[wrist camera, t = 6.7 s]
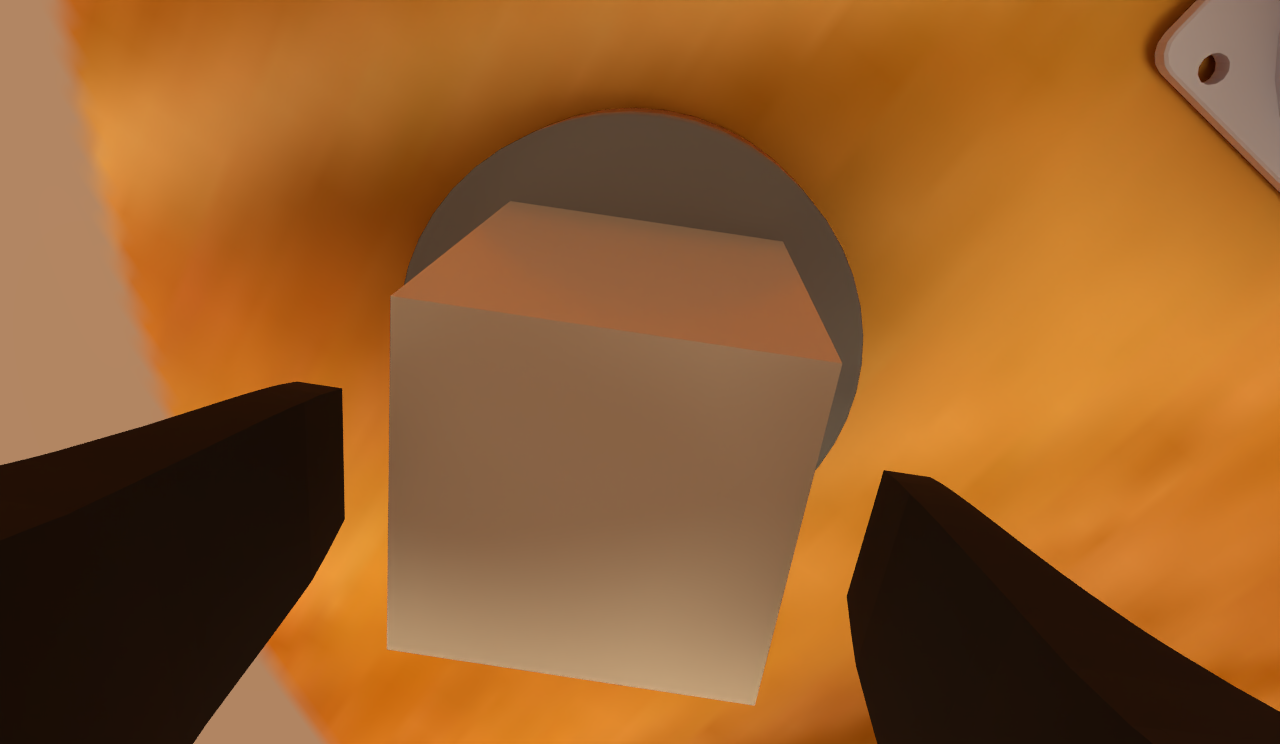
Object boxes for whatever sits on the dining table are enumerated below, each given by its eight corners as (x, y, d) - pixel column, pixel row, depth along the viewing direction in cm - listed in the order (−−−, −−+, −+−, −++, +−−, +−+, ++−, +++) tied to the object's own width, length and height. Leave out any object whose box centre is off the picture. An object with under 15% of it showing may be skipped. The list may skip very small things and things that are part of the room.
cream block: (782, 241, 14) (842, 363, 8) (733, 478, 16) (754, 705, 10) (510, 200, 14) (390, 296, 8) (493, 442, 16) (387, 649, 10)
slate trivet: (934, 294, 16) (965, 325, 14) (666, 565, 19) (663, 619, 17) (591, 6, 14) (576, -2, 13) (357, 351, 18) (318, 387, 16)
